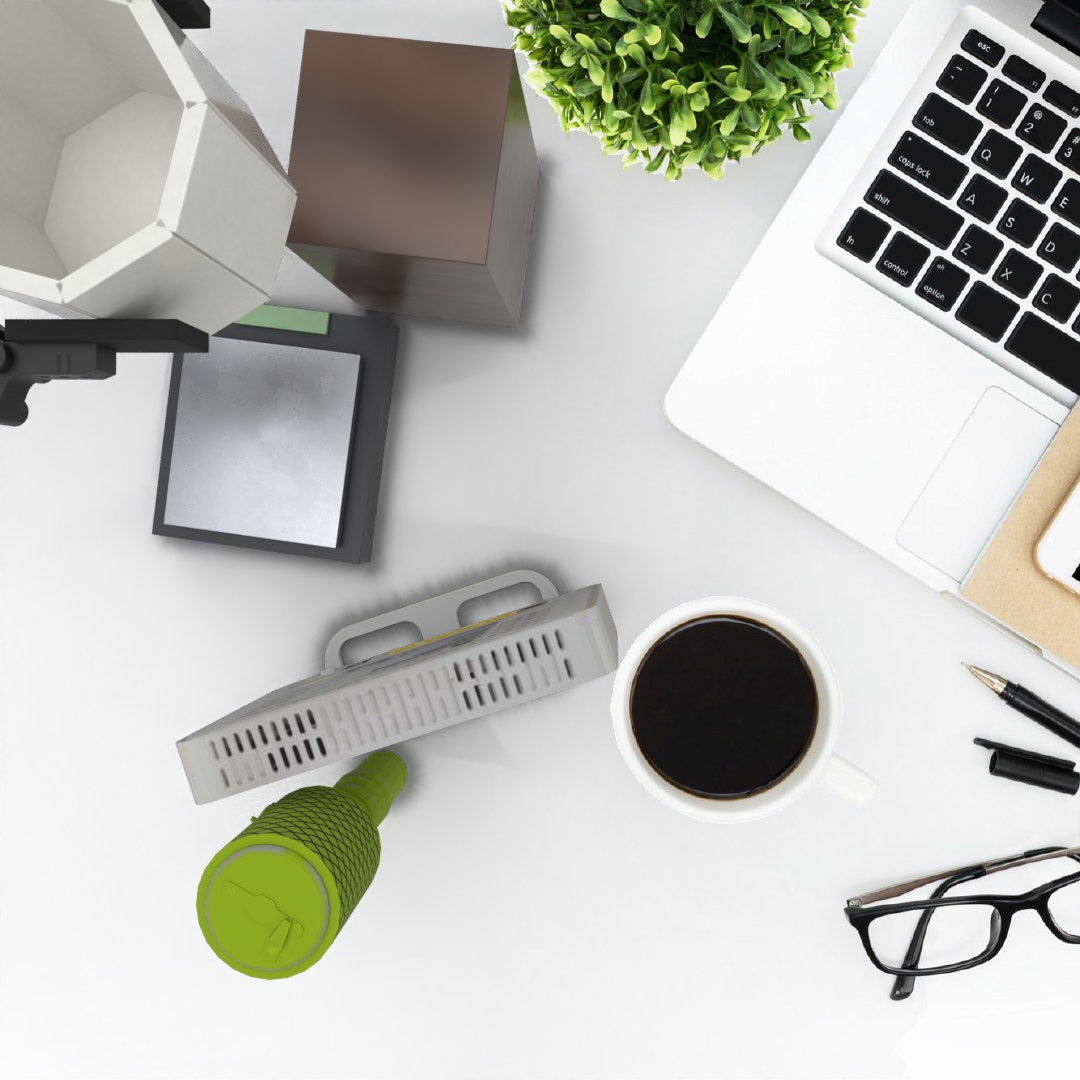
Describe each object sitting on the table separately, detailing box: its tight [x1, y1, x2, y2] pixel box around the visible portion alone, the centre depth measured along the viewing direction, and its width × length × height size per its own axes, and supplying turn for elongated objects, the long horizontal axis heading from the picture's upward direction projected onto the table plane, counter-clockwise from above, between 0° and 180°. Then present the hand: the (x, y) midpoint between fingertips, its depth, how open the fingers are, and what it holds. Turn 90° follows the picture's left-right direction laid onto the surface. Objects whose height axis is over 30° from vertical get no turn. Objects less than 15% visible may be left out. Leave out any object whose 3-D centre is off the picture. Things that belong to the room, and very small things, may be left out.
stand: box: [285, 28, 541, 329], centre depth 61 cm, size 12×12×18 cm
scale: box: [151, 303, 401, 565], centre depth 70 cm, size 18×16×3 cm
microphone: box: [195, 750, 408, 981], centre depth 59 cm, size 8×8×25 cm
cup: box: [0, 0, 297, 336], centre depth 36 cm, size 11×11×9 cm
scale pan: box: [164, 336, 364, 548], centre depth 68 cm, size 14×13×1 cm
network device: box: [174, 569, 619, 806], centre depth 61 cm, size 26×9×20 cm, turn 109°
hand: (195, 168), depth 35 cm, fingers closed on cup, 12 cm apart
